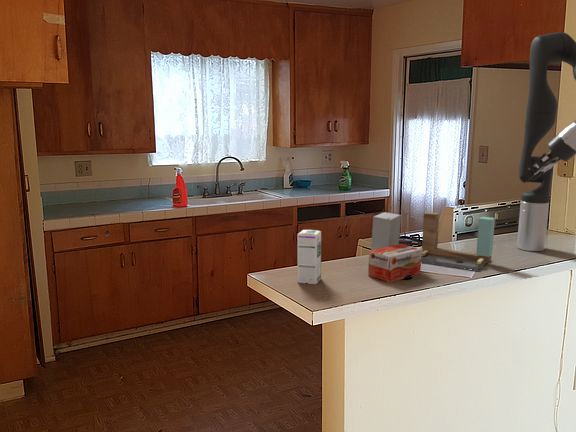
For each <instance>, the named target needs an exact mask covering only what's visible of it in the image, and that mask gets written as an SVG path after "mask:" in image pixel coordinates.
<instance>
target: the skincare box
mask: <svg viewBox="0 0 576 432" xmlns="http://www.w3.org/2000/svg"><path fill="white" fill-rule="evenodd" d="M401 222H402V215H401V214H398V213H397V214H396V213H392V212H385V211H384V212H381V213H379V214H377V215H374V216H373V217H372V231H371V244H370V245H371V247H370V251H372V250H376V249H380V248H385V247H389V246H394V245H398V244H400V235H401Z"/></svg>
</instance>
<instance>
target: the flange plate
mask: <svg viewBox="0 0 576 432" xmlns="http://www.w3.org/2000/svg"><path fill="white" fill-rule="evenodd" d="M421 253H422V252H421ZM477 261H478V260H471V259H464V258H458V257H451V256H444V255H437V254H430V253H428V254H426V255H424V256H422V255H421V264H428V263H429V264H430V265H435V266H441V265H442V266H443V267H447V266H451V267H450V268H454V267H457V268H456V269H460V268H465V269H464V270H466V269H472V270H471V271H473V270H475V272H478V271H479V270H480V269H481V268H483V266H485V265H486V264H487V263H488V262H485V261H483V262H482V263H481V264H477ZM485 263H486V264H485ZM484 264H485V265H484Z"/></svg>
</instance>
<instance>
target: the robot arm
mask: <svg viewBox="0 0 576 432" xmlns="http://www.w3.org/2000/svg"><path fill="white" fill-rule="evenodd" d="M561 62H563V63H566V64H568V65H569V66H571V67H572V75H573V79H574V80H575V81H576V41H575V40H574V39H573V37H572V36H571V35H569V34H568V33H566V32H565V31H557V32H556V31H555V32H551V33H545V34H540V35H537V36H536V37H534V38H533V39H532V42H531V44H530V51H529V84H528V85H529V86H528V93H527V94H528V95H527V101H526V102H527V103H526V110H525V122H524V134H523V135H524V136H523V142H522V149H521V155H520V160H519V161H520V162H519V167H518V178H519V181H521V182H522V183H523V184H526V183H536V184H537V183H539V184H540V185H539V186H538V187H536V188H534V189H531V190H527V191H524V192H522V193H521V196H520V204H519V205H520V207H519V216H518V217H519V218H518V230H517V240H516V248H517V249H519V250H523V251H528V252H543V251H545V248H546V240H547V239H546V238H547V229H548V219H549V217H548V216H549V208H550V207H549V205H550V195H551V188H552V187H551V186H552V181H553V174H554V166H555V165H556V164H558V163H559V162H560V161H563V162H568V161H569V160H570V159H572V158H573V157H575V156H576V119H575V120H573V122H571V123H570V124H569V125H567V126H566V127H565V128H563V129H562V130H561V131H560V132H559V133H558V134H557V135H555V136H554V137H553V139H551V140H550V141H549V142H548V143H547V147H548V148H549V149H550V151H549V152H545V153H543V154H542V155H541V156H539V155H538V156H537V155H533V152H534V150H535V148H536V147H537V145H538V144H539V143H540V141H541V140H542V139H543V138H545V137H546V135H547V134H548V133H549V132H550V131H551V129H552V128H553V126H554V125H555V123H556V118H557V114H558V113H557V110H558V101H557V98H556V96H555V93H554V92H553V91H552V88H551V87H550V85H549V83H548V67H549V66H548V65H550V64H551V65H552V64H556V63H561ZM532 155H533V156H532Z"/></svg>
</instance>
